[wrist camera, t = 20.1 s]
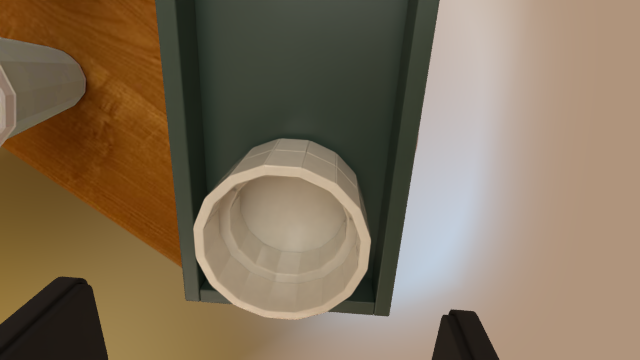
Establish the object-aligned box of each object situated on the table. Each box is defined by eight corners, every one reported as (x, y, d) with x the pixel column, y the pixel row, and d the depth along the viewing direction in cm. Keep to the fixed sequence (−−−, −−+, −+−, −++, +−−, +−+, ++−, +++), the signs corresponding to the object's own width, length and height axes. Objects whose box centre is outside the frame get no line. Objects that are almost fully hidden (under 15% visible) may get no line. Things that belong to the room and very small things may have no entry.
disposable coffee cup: (5, 26, 39) (-180, 15, 25) (99, 30, 39) (-34, 21, 25) (29, 120, 43) (-119, 156, 29) (115, 125, 43) (8, 163, 29)
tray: (377, -18, 36) (465, -160, 11) (359, 159, 43) (389, 317, 18) (274, -24, 36) (136, -175, 11) (272, 153, 43) (185, 301, 18)
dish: (369, 141, 17) (379, 173, 13) (355, 264, 19) (360, 325, 15) (224, 131, 17) (186, 159, 13) (229, 255, 19) (199, 312, 15)
